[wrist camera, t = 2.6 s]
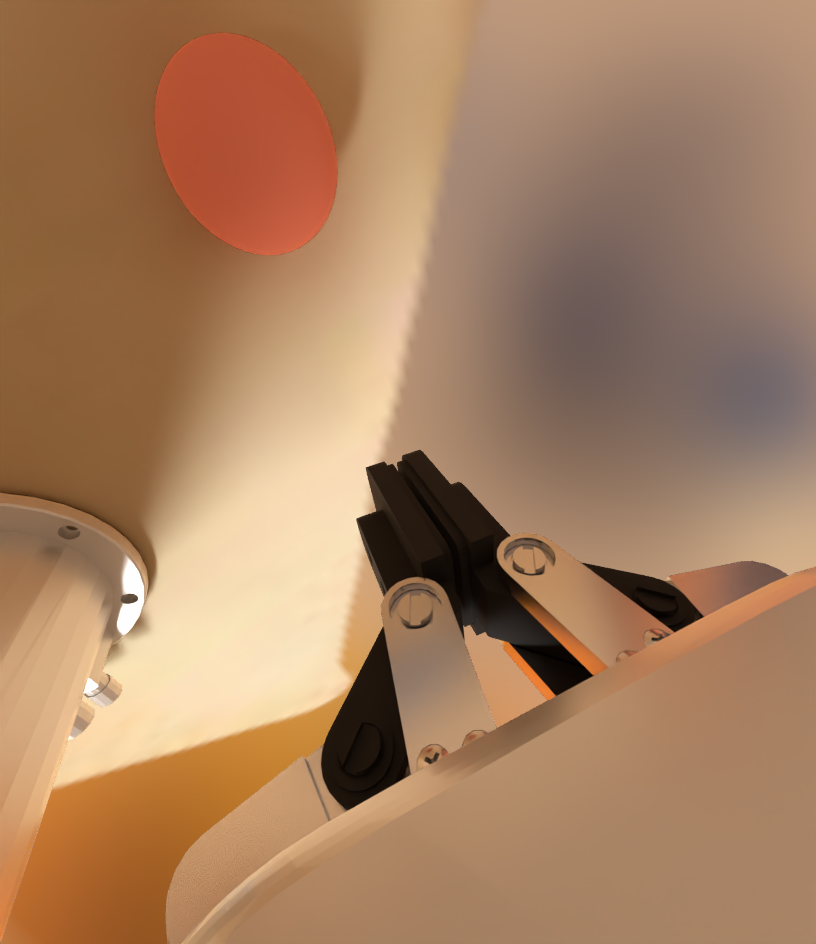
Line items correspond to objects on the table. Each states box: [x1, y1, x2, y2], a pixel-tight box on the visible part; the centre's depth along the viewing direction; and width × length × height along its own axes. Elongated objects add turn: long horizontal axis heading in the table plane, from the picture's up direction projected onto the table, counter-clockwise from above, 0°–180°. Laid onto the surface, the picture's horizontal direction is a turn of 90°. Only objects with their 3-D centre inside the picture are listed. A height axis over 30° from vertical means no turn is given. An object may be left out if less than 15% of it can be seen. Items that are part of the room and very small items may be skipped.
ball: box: [154, 33, 337, 255], centre depth 14 cm, size 6×6×6 cm
